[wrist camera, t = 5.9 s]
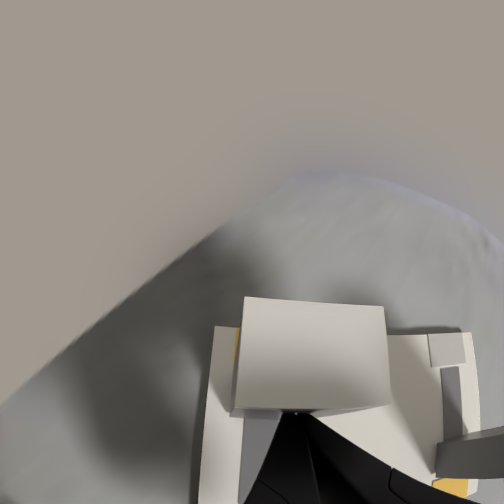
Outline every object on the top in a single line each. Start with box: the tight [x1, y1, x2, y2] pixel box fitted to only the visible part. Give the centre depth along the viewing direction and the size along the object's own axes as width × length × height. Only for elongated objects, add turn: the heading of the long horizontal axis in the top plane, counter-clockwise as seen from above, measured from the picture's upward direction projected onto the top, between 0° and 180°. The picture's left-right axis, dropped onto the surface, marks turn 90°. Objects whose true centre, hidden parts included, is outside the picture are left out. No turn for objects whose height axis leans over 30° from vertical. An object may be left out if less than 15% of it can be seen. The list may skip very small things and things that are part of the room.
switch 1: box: [229, 297, 391, 420], centre depth 10 cm, size 2×4×10 cm
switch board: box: [198, 326, 480, 504], centre depth 14 cm, size 13×19×1 cm
